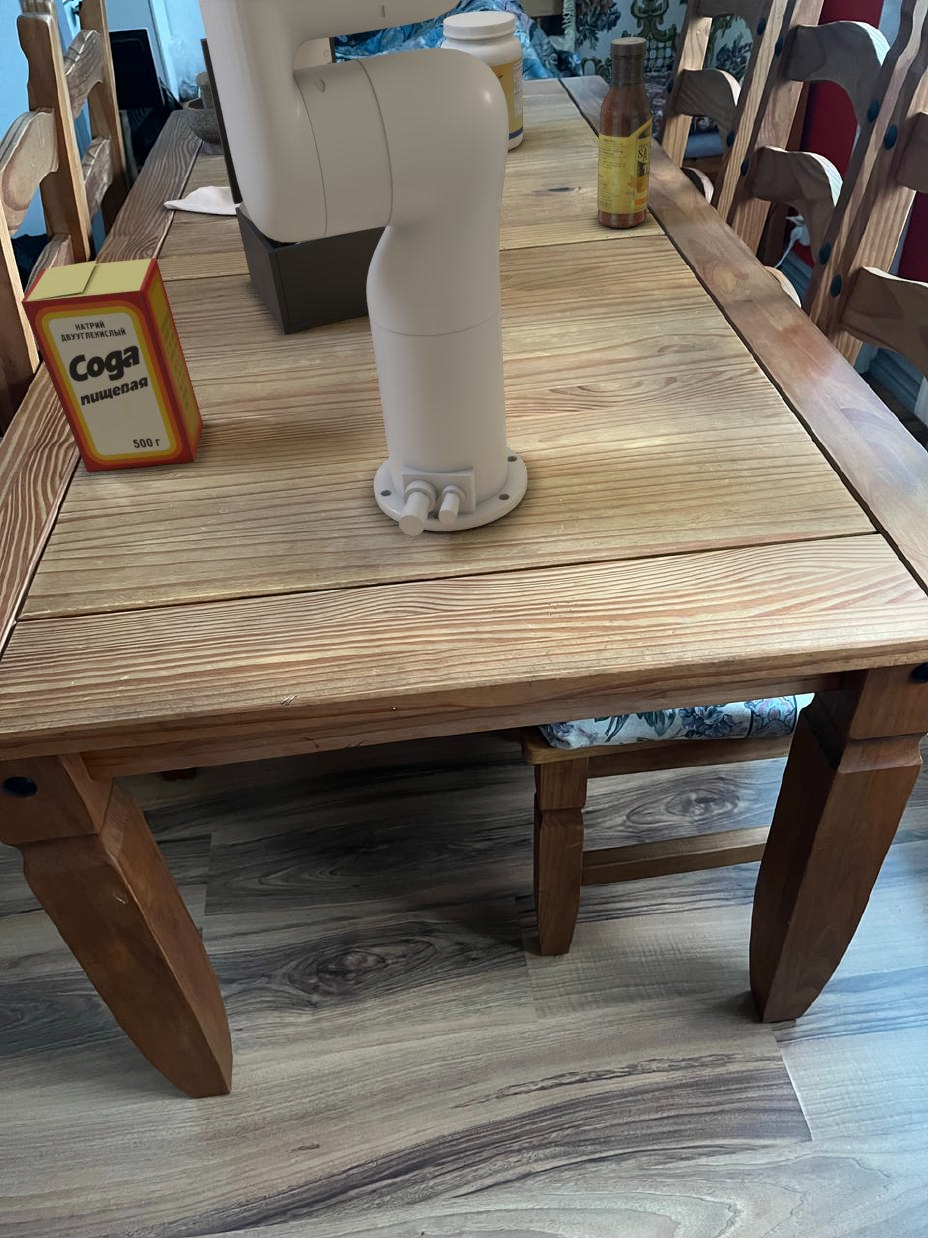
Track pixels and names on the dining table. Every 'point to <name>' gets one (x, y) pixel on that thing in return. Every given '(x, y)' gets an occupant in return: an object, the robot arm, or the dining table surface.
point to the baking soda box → (116, 362)
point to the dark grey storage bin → (310, 275)
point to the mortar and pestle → (204, 117)
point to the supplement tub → (493, 56)
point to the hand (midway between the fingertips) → (327, 266)
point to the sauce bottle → (625, 138)
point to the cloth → (207, 201)
